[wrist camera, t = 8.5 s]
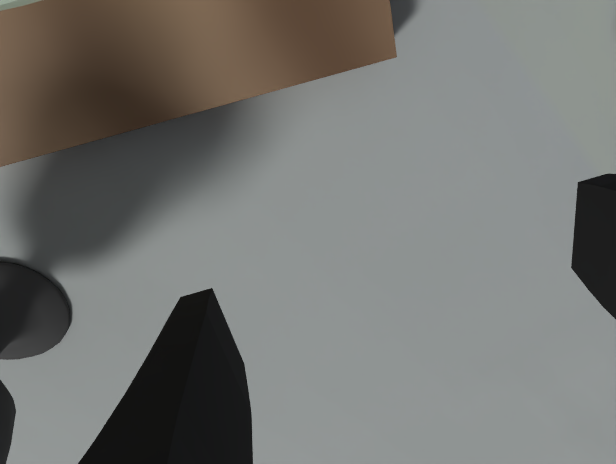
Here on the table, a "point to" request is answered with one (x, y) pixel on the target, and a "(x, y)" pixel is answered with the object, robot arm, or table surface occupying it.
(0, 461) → the sundae
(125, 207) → the table surface
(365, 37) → the board
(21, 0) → the block
